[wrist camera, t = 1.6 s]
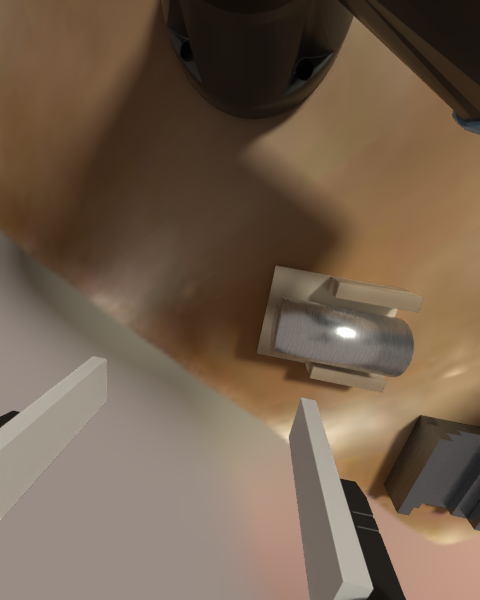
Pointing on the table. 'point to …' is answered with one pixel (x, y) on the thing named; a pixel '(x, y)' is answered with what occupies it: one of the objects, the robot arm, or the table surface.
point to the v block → (439, 469)
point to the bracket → (338, 295)
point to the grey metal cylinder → (341, 337)
